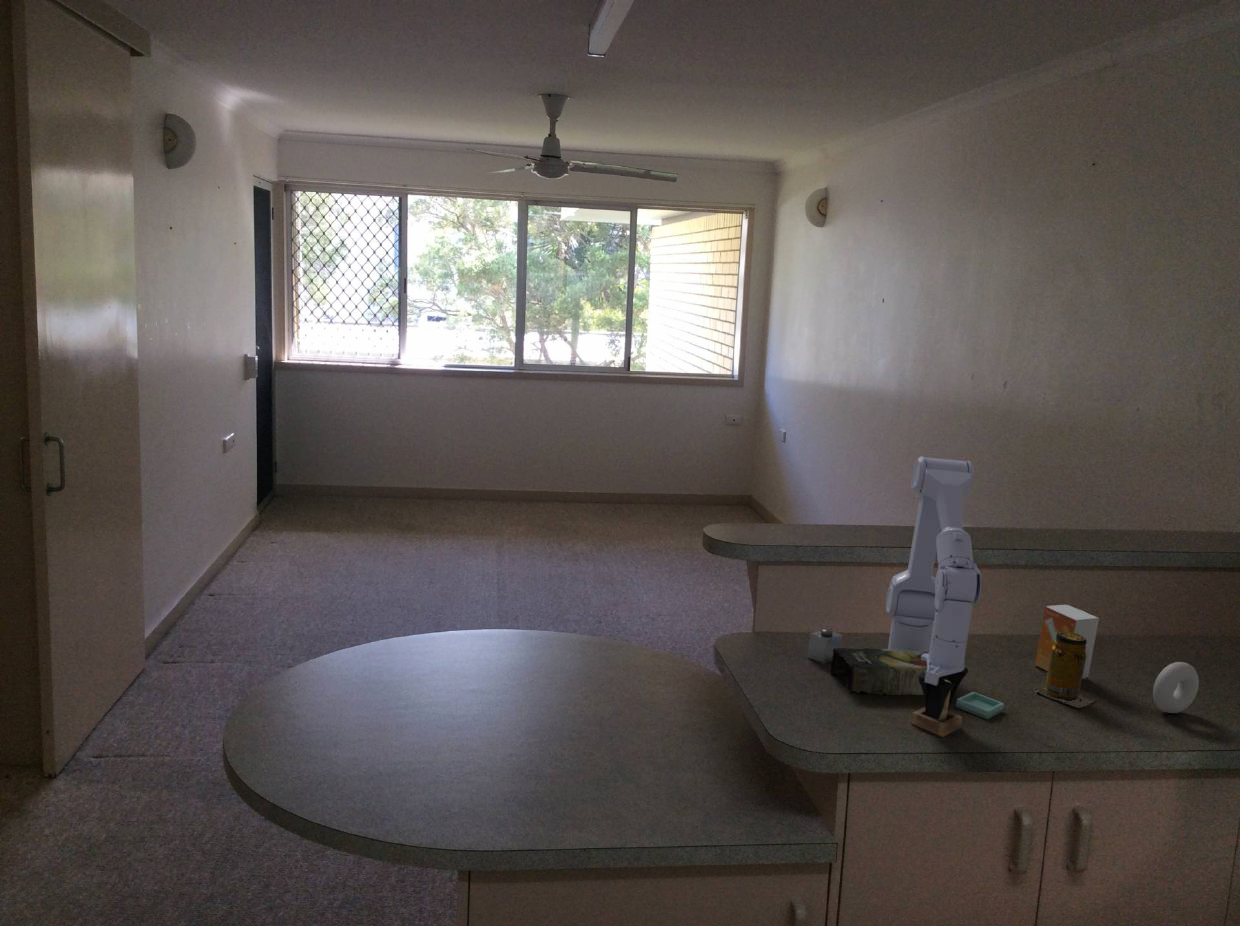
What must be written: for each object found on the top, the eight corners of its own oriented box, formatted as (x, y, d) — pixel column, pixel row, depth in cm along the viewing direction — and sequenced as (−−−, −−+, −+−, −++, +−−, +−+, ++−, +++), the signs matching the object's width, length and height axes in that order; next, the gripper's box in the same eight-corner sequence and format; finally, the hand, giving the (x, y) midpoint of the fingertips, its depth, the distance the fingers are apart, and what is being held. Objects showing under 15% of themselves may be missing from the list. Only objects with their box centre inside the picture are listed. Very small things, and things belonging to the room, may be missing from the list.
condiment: (1053, 685, 194) (1063, 627, 192) (1096, 702, 188) (1107, 642, 185) (1034, 693, 190) (1044, 633, 187) (1077, 710, 183) (1088, 648, 181)
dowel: (932, 720, 173) (939, 677, 172) (948, 726, 171) (955, 683, 170) (923, 724, 171) (930, 680, 170) (939, 731, 169) (946, 687, 168)
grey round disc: (1160, 720, 182) (1171, 668, 180) (1144, 711, 185) (1154, 661, 183) (1197, 714, 186) (1207, 663, 184) (1180, 706, 189) (1190, 656, 187)
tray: (971, 699, 184) (973, 691, 184) (1002, 711, 180) (1004, 703, 180) (955, 706, 180) (956, 699, 180) (986, 719, 176) (988, 711, 175)
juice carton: (926, 675, 194) (931, 645, 193) (951, 697, 185) (955, 666, 184) (828, 675, 191) (832, 645, 190) (848, 697, 181) (852, 666, 180)
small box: (1033, 666, 203) (1044, 605, 201) (1057, 663, 206) (1067, 603, 203) (1064, 682, 196) (1076, 619, 194) (1088, 679, 199) (1100, 617, 196)
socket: (929, 714, 176) (930, 704, 175) (960, 728, 171) (962, 717, 171) (911, 723, 171) (912, 712, 171) (942, 737, 167) (944, 725, 167)
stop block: (822, 652, 201) (825, 624, 200) (838, 658, 198) (842, 631, 197) (807, 657, 198) (810, 629, 197) (824, 664, 195) (827, 635, 194)
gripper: (939, 619, 176) (928, 691, 179) (911, 640, 165) (900, 717, 167) (980, 630, 172) (968, 704, 175) (954, 652, 161) (942, 731, 163)
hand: (937, 711), depth 171 cm, fingers open, 5 cm apart
